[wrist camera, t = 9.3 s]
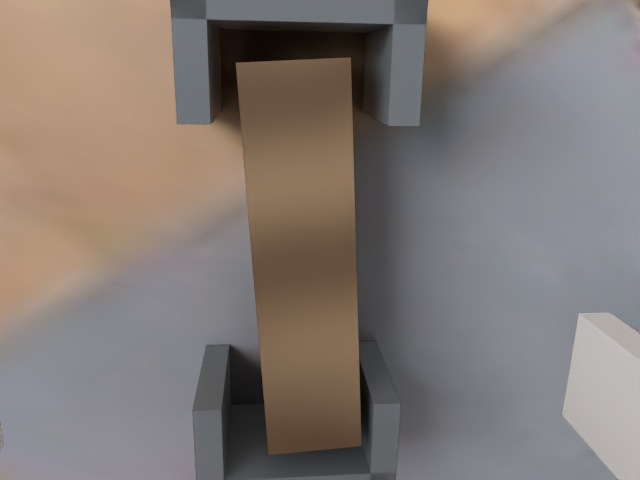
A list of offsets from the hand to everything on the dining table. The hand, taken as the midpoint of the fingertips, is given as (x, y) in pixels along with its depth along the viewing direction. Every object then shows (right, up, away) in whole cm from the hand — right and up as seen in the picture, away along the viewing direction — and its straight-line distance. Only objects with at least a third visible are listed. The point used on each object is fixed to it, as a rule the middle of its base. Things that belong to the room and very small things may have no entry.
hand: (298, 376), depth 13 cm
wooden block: (0, +3, +11) cm, 12 cm away
